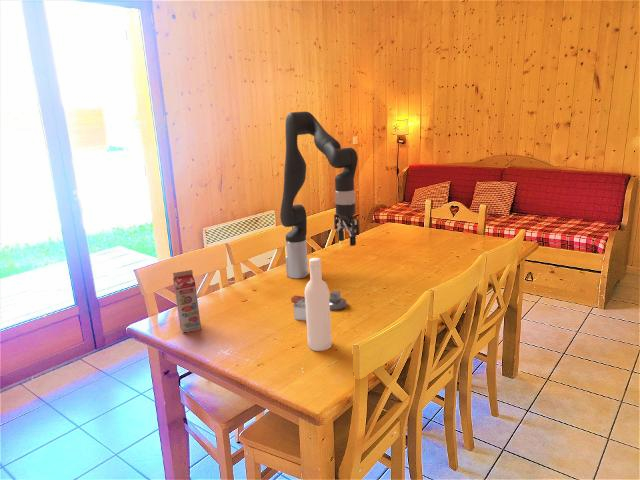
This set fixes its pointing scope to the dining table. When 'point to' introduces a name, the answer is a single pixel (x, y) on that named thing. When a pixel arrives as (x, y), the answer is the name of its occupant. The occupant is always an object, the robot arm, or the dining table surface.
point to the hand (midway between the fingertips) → (347, 243)
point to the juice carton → (186, 301)
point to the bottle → (317, 309)
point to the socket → (300, 310)
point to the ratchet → (335, 300)
